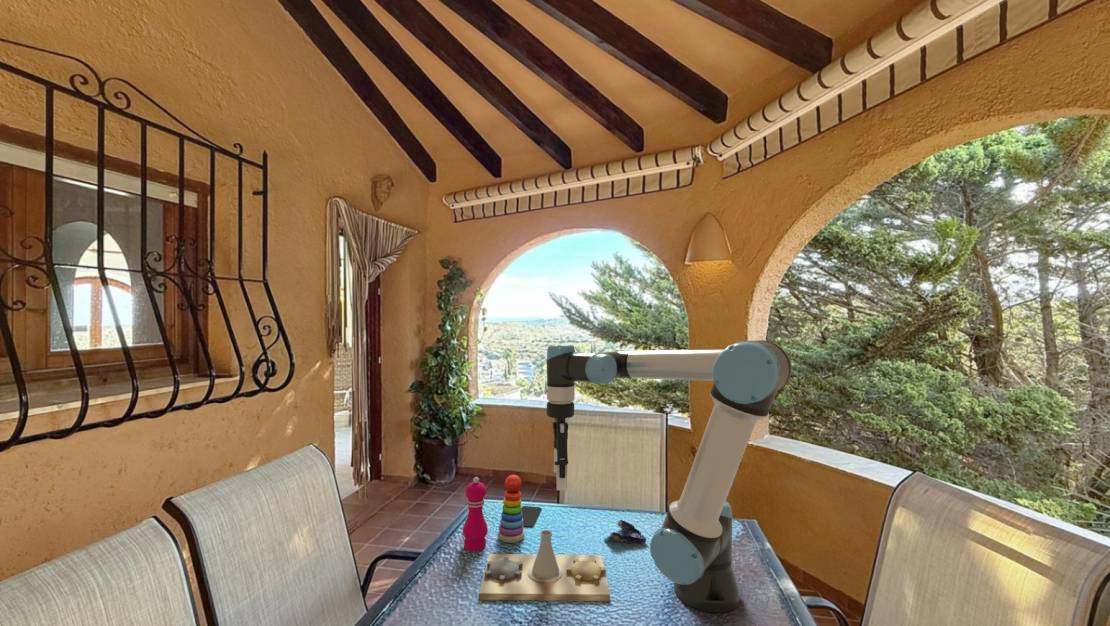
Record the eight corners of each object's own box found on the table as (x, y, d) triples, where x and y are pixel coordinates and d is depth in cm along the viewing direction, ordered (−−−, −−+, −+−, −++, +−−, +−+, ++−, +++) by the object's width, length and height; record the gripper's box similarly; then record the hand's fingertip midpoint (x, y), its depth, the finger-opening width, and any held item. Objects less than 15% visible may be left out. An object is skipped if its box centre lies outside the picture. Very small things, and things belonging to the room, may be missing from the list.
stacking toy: (520, 545, 133) (521, 481, 133) (494, 542, 135) (495, 479, 135) (527, 533, 141) (528, 472, 141) (502, 530, 142) (503, 470, 143)
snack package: (608, 529, 145) (601, 545, 134) (612, 509, 145) (605, 524, 134) (646, 541, 142) (642, 559, 131) (649, 521, 142) (646, 537, 130)
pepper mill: (490, 549, 130) (491, 479, 131) (464, 554, 128) (466, 482, 128) (484, 538, 137) (485, 471, 137) (460, 542, 134) (461, 474, 135)
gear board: (601, 560, 125) (601, 550, 125) (609, 601, 107) (609, 589, 107) (489, 559, 125) (489, 549, 125) (478, 599, 107) (478, 588, 107)
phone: (510, 524, 146) (521, 505, 161) (510, 527, 146) (521, 507, 161) (533, 526, 145) (542, 507, 159) (533, 529, 145) (542, 509, 159)
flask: (535, 581, 112) (536, 541, 112) (528, 566, 119) (528, 528, 119) (563, 577, 114) (564, 536, 114) (554, 562, 121) (555, 524, 121)
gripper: (545, 394, 135) (544, 466, 135) (548, 410, 110) (547, 498, 110) (570, 394, 136) (570, 465, 135) (579, 410, 111) (578, 498, 110)
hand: (560, 480), depth 122 cm, fingers open, 13 cm apart
